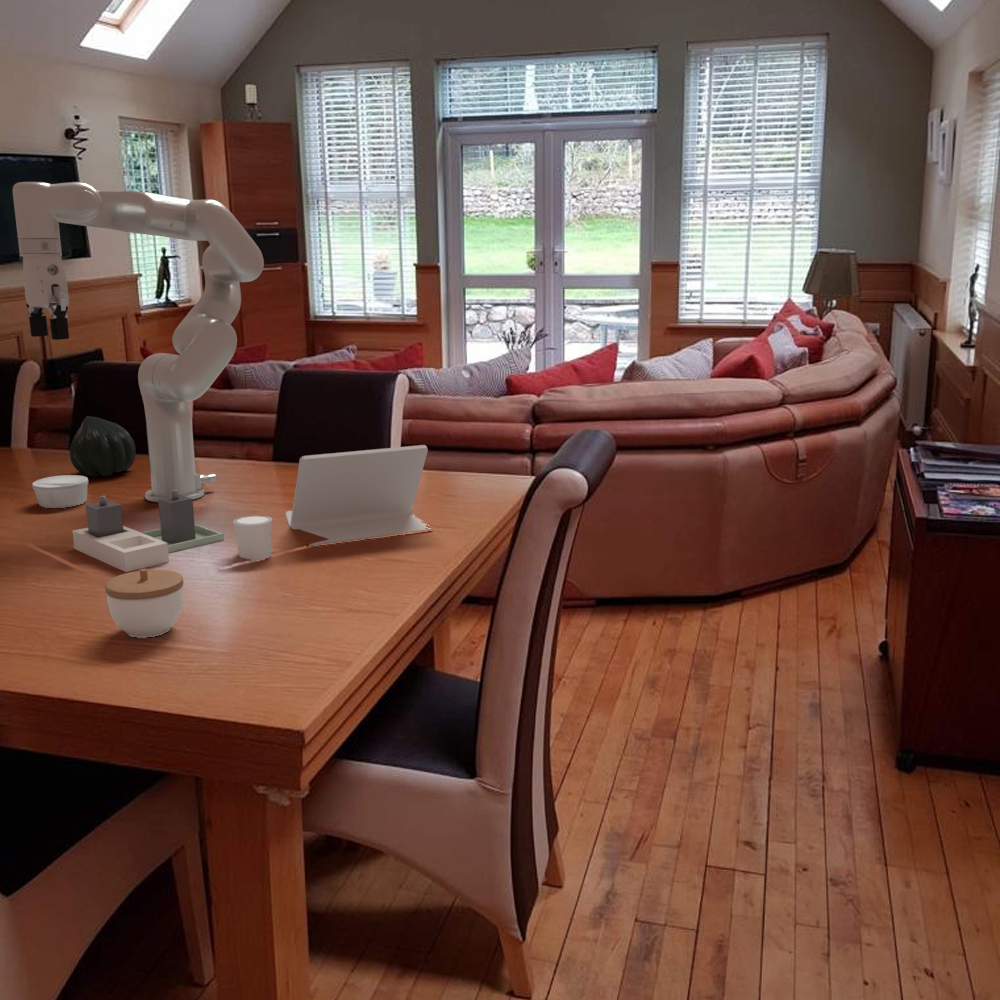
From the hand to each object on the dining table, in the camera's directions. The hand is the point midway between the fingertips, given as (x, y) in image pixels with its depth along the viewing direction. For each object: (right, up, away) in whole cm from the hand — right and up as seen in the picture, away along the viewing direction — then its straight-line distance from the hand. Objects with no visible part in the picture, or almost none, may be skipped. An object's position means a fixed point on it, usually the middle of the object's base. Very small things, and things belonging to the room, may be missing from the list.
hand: (50, 337), depth 206 cm
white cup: (+45, -43, -19) cm, 65 cm away
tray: (+29, -40, -10) cm, 50 cm away
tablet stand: (+61, -38, 0) cm, 72 cm away
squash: (-8, -26, +49) cm, 56 cm away
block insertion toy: (+21, -43, -19) cm, 51 cm away
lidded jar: (+38, -51, -54) cm, 83 cm away
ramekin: (-6, -33, +20) cm, 39 cm away
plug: (+29, -40, -10) cm, 50 cm away
